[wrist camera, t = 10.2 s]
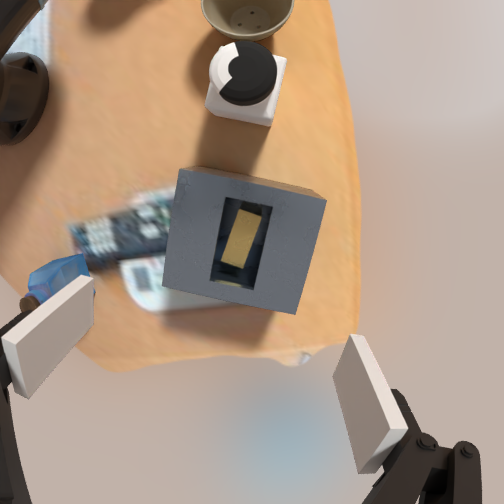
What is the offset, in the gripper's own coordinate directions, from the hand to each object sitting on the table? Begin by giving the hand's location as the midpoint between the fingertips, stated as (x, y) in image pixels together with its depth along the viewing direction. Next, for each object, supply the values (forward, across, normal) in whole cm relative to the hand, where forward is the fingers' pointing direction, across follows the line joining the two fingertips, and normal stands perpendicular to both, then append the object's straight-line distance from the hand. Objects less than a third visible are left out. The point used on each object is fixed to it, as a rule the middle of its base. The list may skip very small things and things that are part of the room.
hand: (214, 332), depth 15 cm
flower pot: (+27, -5, +26) cm, 38 cm away
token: (+26, 0, 0) cm, 26 cm away
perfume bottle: (+27, -24, -13) cm, 38 cm away
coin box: (+26, 0, 0) cm, 26 cm away
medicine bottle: (+27, -3, +16) cm, 31 cm away
